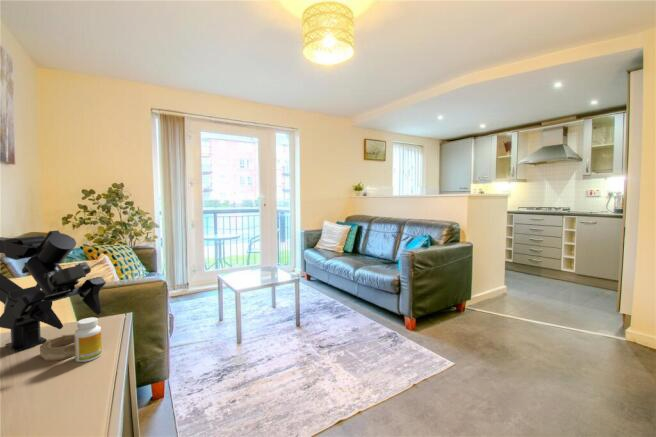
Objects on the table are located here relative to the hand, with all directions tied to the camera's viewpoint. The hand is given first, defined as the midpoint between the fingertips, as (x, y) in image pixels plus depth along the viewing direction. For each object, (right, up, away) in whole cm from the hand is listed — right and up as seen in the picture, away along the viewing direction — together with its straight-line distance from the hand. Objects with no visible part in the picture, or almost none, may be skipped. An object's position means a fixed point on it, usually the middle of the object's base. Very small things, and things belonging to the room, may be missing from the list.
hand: (81, 320), depth 76 cm
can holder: (-6, -9, +2) cm, 11 cm away
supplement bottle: (+2, -10, 0) cm, 10 cm away
